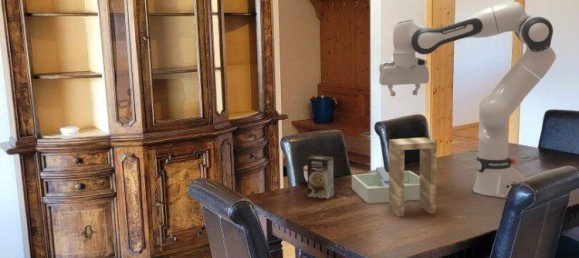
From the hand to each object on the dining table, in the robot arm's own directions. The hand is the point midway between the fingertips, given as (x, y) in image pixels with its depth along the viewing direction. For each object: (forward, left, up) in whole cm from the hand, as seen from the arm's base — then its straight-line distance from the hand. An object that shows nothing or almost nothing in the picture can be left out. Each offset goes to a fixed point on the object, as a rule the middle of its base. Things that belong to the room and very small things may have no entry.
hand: (404, 95), depth 223 cm
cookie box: (+36, +2, -39) cm, 53 cm away
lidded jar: (+34, -16, -39) cm, 54 cm away
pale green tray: (+8, +6, -39) cm, 40 cm away
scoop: (+8, +2, -35) cm, 36 cm away
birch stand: (+8, +29, -39) cm, 49 cm away
